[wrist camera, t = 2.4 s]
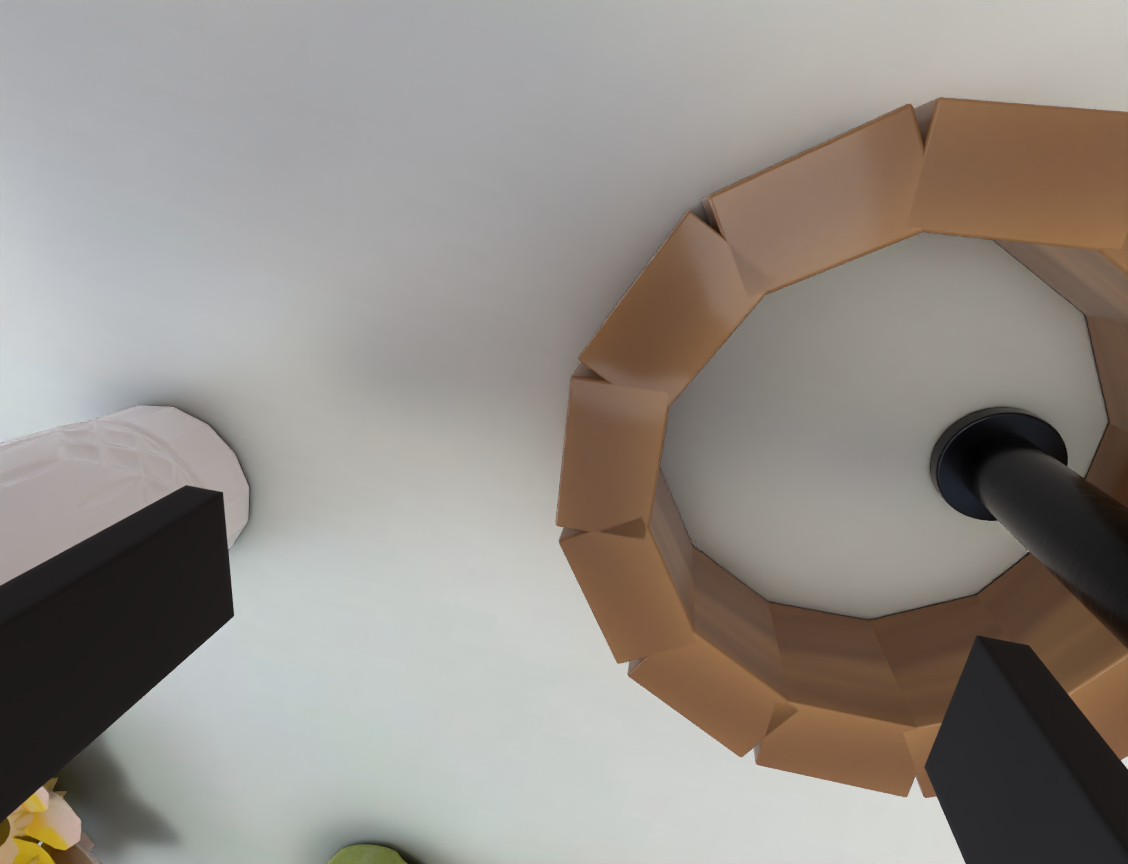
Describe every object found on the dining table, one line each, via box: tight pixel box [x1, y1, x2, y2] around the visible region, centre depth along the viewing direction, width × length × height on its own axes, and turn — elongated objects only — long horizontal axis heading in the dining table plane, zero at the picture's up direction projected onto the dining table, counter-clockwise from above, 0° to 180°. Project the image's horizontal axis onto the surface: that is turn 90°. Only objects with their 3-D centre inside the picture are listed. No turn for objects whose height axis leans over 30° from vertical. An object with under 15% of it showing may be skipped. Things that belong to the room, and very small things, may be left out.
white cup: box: [0, 405, 249, 585], centre depth 21 cm, size 8×8×10 cm
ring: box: [555, 97, 1128, 798], centre depth 18 cm, size 18×18×5 cm
